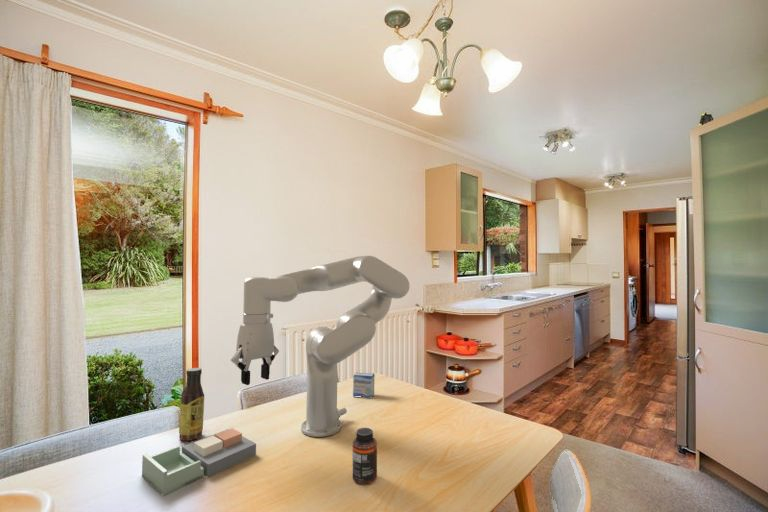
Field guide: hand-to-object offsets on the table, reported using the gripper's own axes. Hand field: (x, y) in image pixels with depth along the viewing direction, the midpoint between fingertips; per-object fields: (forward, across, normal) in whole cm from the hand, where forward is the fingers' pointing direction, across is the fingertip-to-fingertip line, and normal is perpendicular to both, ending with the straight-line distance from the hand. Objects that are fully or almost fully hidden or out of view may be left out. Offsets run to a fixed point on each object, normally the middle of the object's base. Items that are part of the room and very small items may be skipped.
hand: (255, 380), depth 104 cm
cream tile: (+15, +14, 0) cm, 20 cm away
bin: (+18, +22, 0) cm, 28 cm away
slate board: (+18, +10, 0) cm, 20 cm away
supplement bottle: (+18, -6, +37) cm, 41 cm away
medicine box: (+18, -48, +1) cm, 51 cm away
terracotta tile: (+15, +8, 0) cm, 17 cm away
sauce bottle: (+18, +10, -17) cm, 27 cm away
